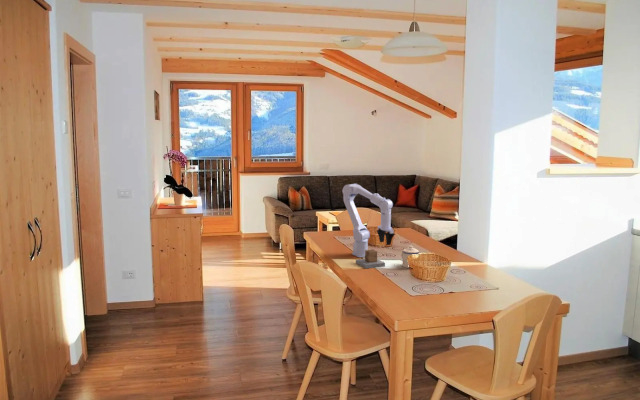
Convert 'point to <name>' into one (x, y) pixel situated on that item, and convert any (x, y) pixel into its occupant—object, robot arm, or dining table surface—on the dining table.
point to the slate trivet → (370, 265)
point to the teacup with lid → (406, 253)
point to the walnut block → (370, 256)
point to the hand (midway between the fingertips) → (385, 243)
